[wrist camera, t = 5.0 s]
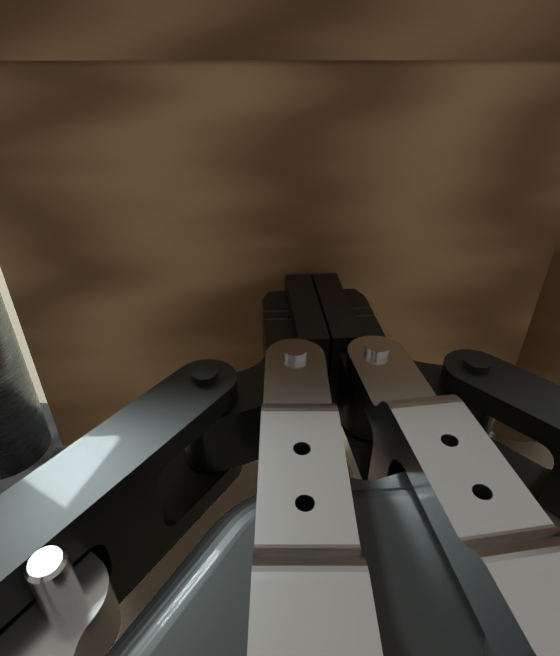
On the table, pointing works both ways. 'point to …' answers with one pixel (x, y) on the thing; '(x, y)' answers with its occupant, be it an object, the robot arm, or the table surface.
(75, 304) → the gate
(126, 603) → the table surface
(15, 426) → the hinge post
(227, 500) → the table surface
